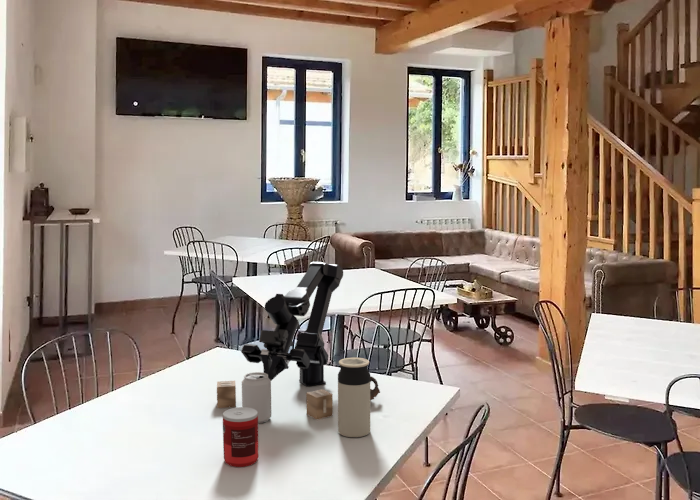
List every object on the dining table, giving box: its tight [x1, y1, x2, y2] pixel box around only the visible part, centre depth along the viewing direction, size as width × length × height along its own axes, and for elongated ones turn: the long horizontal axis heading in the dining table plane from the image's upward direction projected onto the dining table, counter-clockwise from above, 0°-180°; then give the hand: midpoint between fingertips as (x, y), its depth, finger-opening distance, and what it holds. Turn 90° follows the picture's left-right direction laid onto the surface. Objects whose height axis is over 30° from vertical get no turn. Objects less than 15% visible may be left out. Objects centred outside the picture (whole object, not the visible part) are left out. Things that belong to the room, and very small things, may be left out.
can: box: [241, 371, 272, 424], centre depth 178 cm, size 8×8×12 cm
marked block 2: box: [305, 388, 334, 421], centre depth 181 cm, size 5×5×6 cm
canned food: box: [222, 406, 259, 468], centre depth 153 cm, size 8×8×11 cm
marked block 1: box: [216, 380, 237, 409], centre depth 190 cm, size 5×5×6 cm
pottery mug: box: [370, 375, 381, 401], centre depth 193 cm, size 12×10×8 cm
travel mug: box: [337, 357, 371, 438], centre depth 169 cm, size 8×8×18 cm
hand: (265, 383), depth 182 cm, fingers closed
